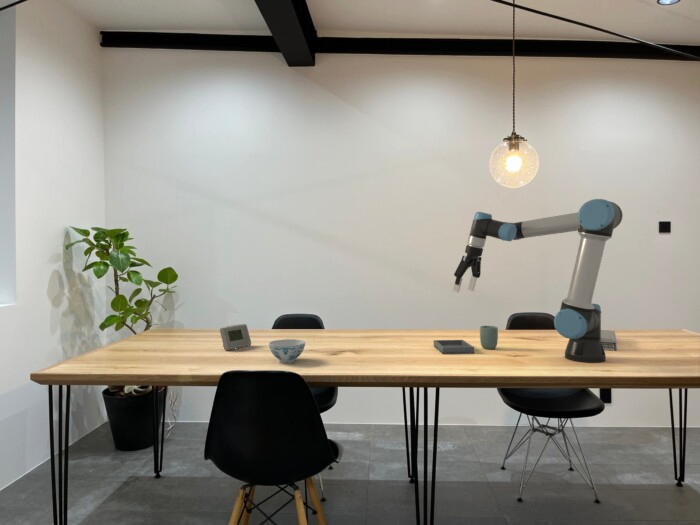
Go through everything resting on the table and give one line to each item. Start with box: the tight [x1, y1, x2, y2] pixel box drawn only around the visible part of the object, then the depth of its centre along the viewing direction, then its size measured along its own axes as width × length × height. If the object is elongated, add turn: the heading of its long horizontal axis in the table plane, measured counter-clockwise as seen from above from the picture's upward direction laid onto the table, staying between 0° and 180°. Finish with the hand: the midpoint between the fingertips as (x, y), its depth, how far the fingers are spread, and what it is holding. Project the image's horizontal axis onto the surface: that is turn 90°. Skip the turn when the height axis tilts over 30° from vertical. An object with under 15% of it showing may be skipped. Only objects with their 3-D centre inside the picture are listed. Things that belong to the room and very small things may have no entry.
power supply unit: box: [601, 329, 618, 352], centre depth 228 cm, size 19×33×5 cm, turn 152°
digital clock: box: [219, 323, 252, 351], centre depth 225 cm, size 16×9×11 cm, turn 134°
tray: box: [433, 339, 475, 355], centre depth 216 cm, size 18×14×3 cm
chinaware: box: [268, 338, 306, 364], centre depth 196 cm, size 15×15×8 cm
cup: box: [479, 325, 499, 350], centre depth 217 cm, size 8×8×10 cm
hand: (463, 290), depth 217 cm, fingers open, 13 cm apart
